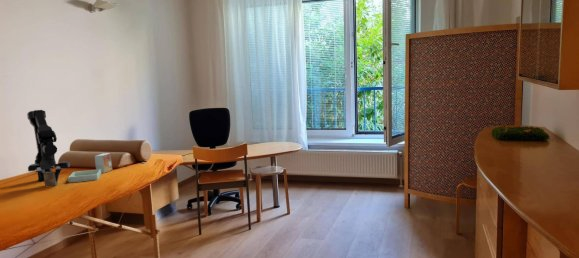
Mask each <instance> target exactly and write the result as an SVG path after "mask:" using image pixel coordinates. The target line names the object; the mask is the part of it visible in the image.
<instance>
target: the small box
mask: <svg viewBox="0 0 579 258" xmlns="http://www.w3.org/2000/svg"><path fill="white" fill-rule="evenodd" d="M94 164H95V170H98V169H101V174H106V173H108V172H112V171H113V163H112V154H111V153H107V152H105V153H100V154H97V155H94ZM111 170H112V171H111Z"/></svg>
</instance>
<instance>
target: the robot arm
mask: <svg viewBox="0 0 579 258" xmlns="http://www.w3.org/2000/svg"><path fill="white" fill-rule="evenodd" d="M26 116H27V120H29V124H30V125H31V126H32V127H33V129H34V136H35V142H36V150H37V153H36V155H35V160H34V163H32V164H29V166H27V172H35V173H37V178H38V179H37V182H44V173H46V172H52V171H53V170H52V169H54V168H55V169H54V171H56V182H57V181H58V182H59V177H60V174H61V172H62V170H64V169H68V168H70V167H71V162H70V161H69V160H65V161H60V162H59V163H58V162H57V161H56V157H55V154H57V151H58V147H57V146H56V145H55V144H54V143H56V142H57V140H58V138H57V134H56V132H55V130H53V129H52V126H49V125H48V123H47V120H46V119H47V115H46V110H43V109H34V110H30V111H29V112H27V115H26Z"/></svg>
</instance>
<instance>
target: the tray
mask: <svg viewBox="0 0 579 258" xmlns="http://www.w3.org/2000/svg"><path fill="white" fill-rule="evenodd" d="M100 175H102V173H101V169H98V170H96V169H90V170H89V169H88V170H80V171H73V172H72V173H71V174H70V175H69V176H68V177H67V178H68V180H67V181H68V183H69V184H71V183H80V182H81V183H82V182H89V181H98V180H99V178H101V176H100Z"/></svg>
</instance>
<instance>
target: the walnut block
mask: <svg viewBox="0 0 579 258" xmlns="http://www.w3.org/2000/svg"><path fill="white" fill-rule="evenodd" d="M43 182H44V187H45V186H52V187H56V186H58V185H59V180H58V181H57V182H56V171H55V170H54V171H53V170H52V172H46V173H44V181H43Z"/></svg>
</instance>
